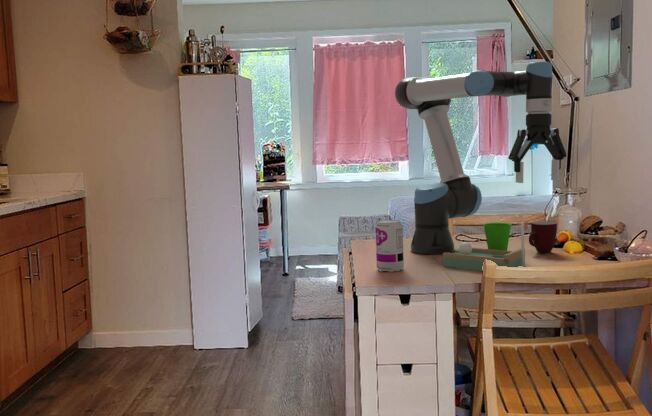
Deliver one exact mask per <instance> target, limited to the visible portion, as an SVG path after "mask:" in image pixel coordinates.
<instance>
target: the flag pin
mask: <svg viewBox="0 0 652 416" xmlns="http://www.w3.org/2000/svg"><path fill="white" fill-rule="evenodd" d="M520 226H521V228H520V229H521V234H520V235H521V236H520V237H521V239H520V240H521V241H520V242H521V245H520V246H521V247H520V248H521V249H522V266H523V267H526V263H525V264H524V249H525V231H526V230H528V221H525V222H521V224H520Z"/></svg>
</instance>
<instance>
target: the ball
mask: <svg viewBox="0 0 652 416" xmlns="http://www.w3.org/2000/svg"><path fill="white" fill-rule="evenodd" d="M472 248H473V246H472V244H471V243H470V242H468V241H467V242H466V241H464V242H461V243H460V244H459V247H458V250H459V251H460V253H461V254H465V255H468V254H470V253H471V251H472ZM459 251H458V252H459Z"/></svg>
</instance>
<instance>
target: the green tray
mask: <svg viewBox="0 0 652 416" xmlns="http://www.w3.org/2000/svg"><path fill="white" fill-rule="evenodd" d="M485 259H487V260H491V261H493V262H495V263H496V264H497V265H498V266H507V267H518V266H522V249H521V247H520V248H518V249H516V250H507V251H503V250H492V249H488V248H479V247H477V248H476V247H472V251H471V253H470V254H468V255H465V254H461V253H460V251H456V252H449V253H445V252H444V253H443V254H442V262H443V263H442V267H447V268H453V267H455V269H463V270H472V271H480V272H481V271H482V266H483V262H484V260H485ZM524 264H525V265H526V248H524ZM482 272H483V271H482Z"/></svg>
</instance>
